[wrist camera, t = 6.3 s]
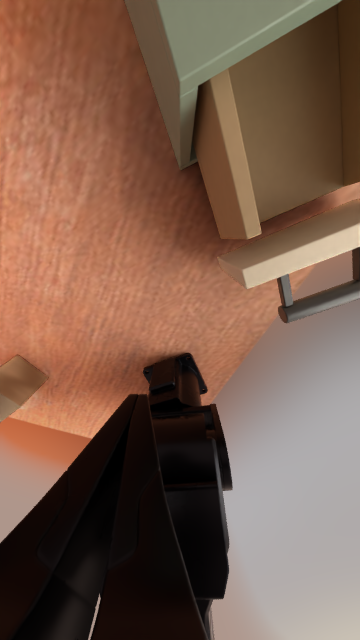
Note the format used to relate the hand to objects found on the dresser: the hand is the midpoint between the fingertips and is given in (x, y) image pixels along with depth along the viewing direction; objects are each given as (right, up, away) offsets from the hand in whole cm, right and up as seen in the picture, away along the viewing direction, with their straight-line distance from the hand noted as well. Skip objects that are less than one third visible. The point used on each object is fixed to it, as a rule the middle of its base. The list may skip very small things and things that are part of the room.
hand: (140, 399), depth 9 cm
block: (-18, -3, +15) cm, 24 cm away
